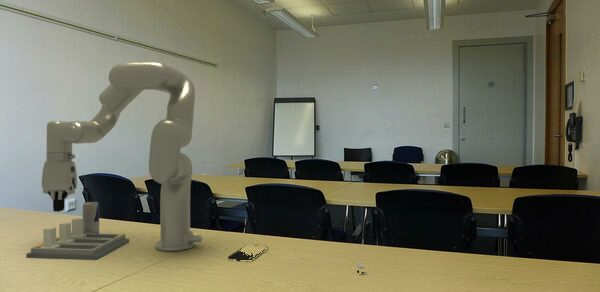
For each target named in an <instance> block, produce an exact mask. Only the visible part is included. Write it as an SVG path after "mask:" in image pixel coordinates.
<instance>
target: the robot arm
mask: <svg viewBox="0 0 600 292" xmlns="http://www.w3.org/2000/svg"><path fill="white" fill-rule="evenodd" d="M108 81H109V85H108V86H107V87H106V88H105V89H104V90H103V91H101V92H100V94H99V96H98V99H99V102H100V104H101V108H100V110H99V111H98V113H96V115H95V116H94V117H93V118H92V119H91V120H89V121H86V120H85V121H84V120H83V121H80V120H74V121H63V120H61V121H60V120H59V121H58V120H51V121H49V122H47V124H46V160H45V161H44V163H43V168H42V174H41V187H42V193H43V194H46V195H49V196H50V199H51V200H52V208H53V209H52V210H53V212H58V213H60V212H63V211H64V209H65V199H66V198H68V196H70V195H73V194H74V195H75V194H76V189H77V188H78V175H77V167H76V162H75V161H73V159H75V158H76V155H75V154H73V144H75V145H76V144H94V143H97V142H99V141H100V140H102V139H103V138H104V137H105V136H107V135H108V134H109V132H111V131H112V129H113V128H114V127H116V124H117V123H118V121H119V119H120V115H121V113H122V112H123V111H124V110H125V108H127V106H129V104H130V103H132V102H133V101H134V99H136V98H137V97H138V96H139V95H140V94H141V93H142V92H144V90H146V91H147V90H154V91H159V92H164V93H167V94H169V99H168V102H167V106H166V116H165V117H166V118H165V119H161V120H160V121H158V122H157V123H156V124H155V125H154V127H153V128H152V132H151V135H150V144H149V145H150V146H149V158H148V171H149V176H150V177H151V179H152V180H154V181H155V182H156V183H158V184H160V185H161V187H160V200H159V201H160V213H159V214H160V218H159V219H160V222H159V223H160V226H159V227H160V240H159V241H158V242H156V243H155V249H156V250H158V251H163V252H178V251H185V249H186V250H189V249H191V248H193V247H194V246H195V245H196V243H203V236H202V235H199V234H198V235H196V234H194V231H193V230H191V184H192V176H193V163H192V161H191V159H190V157H188V155H187V154H185V153H183V152H181V148H185V147H187V146H188V145H189V144H190V143H191V141H192V138H193V137H192V136H193V126H194V124H193V123H194V115H195V114H194V111H195V110H194V109H195V101H196V90H195V86H194V83H193V81H192V80H191V78H190V77H188V75H186V74H185V73H183V72H182V71H181V70H179V69H176V68H175V67H173V66H169V65H167V64H164V63H162V62H157V61H156V62H154V61H151V62H150V61H148V62H120V63H117V64H115V65H114V66H113V67H112V68H111V69H110V70H109V73H108Z"/></svg>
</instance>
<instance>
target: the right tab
mask: <svg viewBox="0 0 600 292" xmlns="http://www.w3.org/2000/svg"><path fill="white" fill-rule="evenodd" d="M71 233H72V235H71V237H87V235H86V234H83V218H74V219H71Z"/></svg>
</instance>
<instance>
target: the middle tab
mask: <svg viewBox="0 0 600 292" xmlns="http://www.w3.org/2000/svg"><path fill="white" fill-rule="evenodd" d="M71 233H72V222H62V223H59V224H58V238H59V241H56V242H74V243H75V239H71Z"/></svg>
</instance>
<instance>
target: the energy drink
mask: <svg viewBox="0 0 600 292" xmlns="http://www.w3.org/2000/svg"><path fill="white" fill-rule="evenodd" d="M82 219H83V233H97V234H100V204H99V201H88V202H84V203H83V205H82Z"/></svg>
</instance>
